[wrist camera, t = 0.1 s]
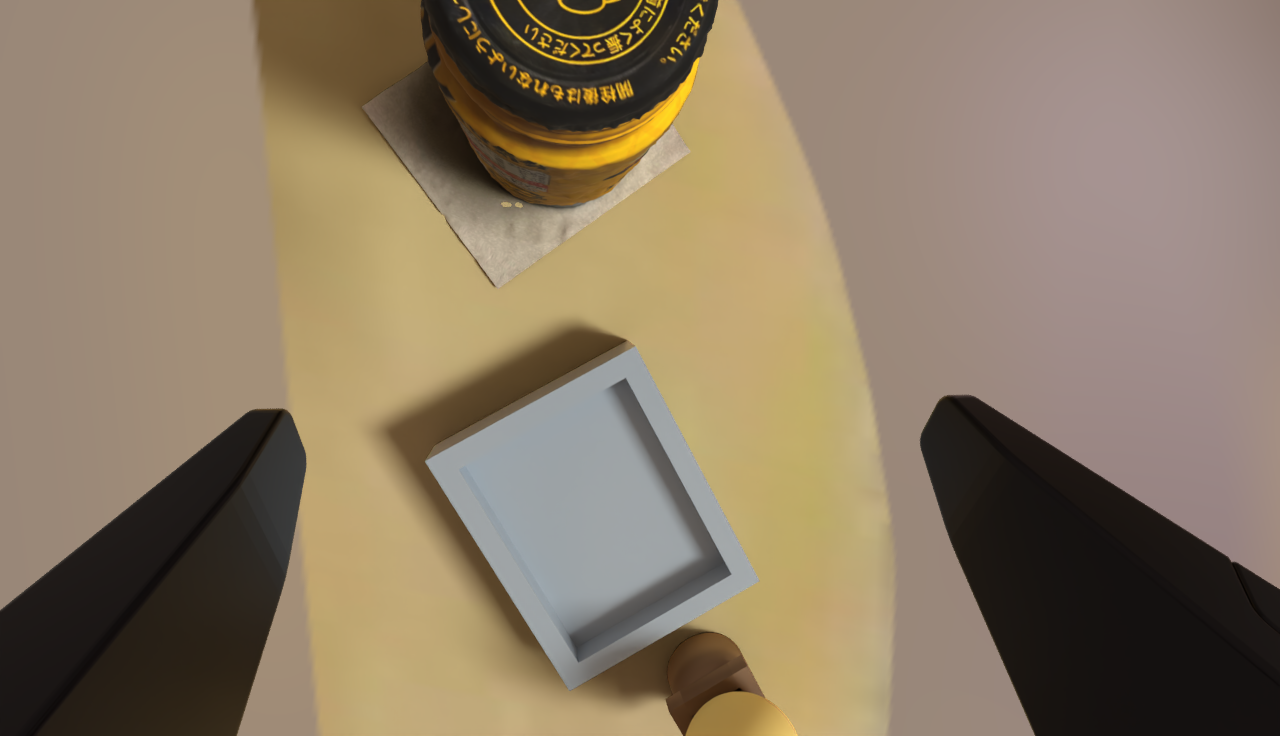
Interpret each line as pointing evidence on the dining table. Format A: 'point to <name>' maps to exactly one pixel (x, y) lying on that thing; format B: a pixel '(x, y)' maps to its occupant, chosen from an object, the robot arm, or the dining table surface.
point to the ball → (740, 717)
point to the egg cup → (705, 675)
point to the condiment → (541, 114)
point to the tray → (593, 514)
